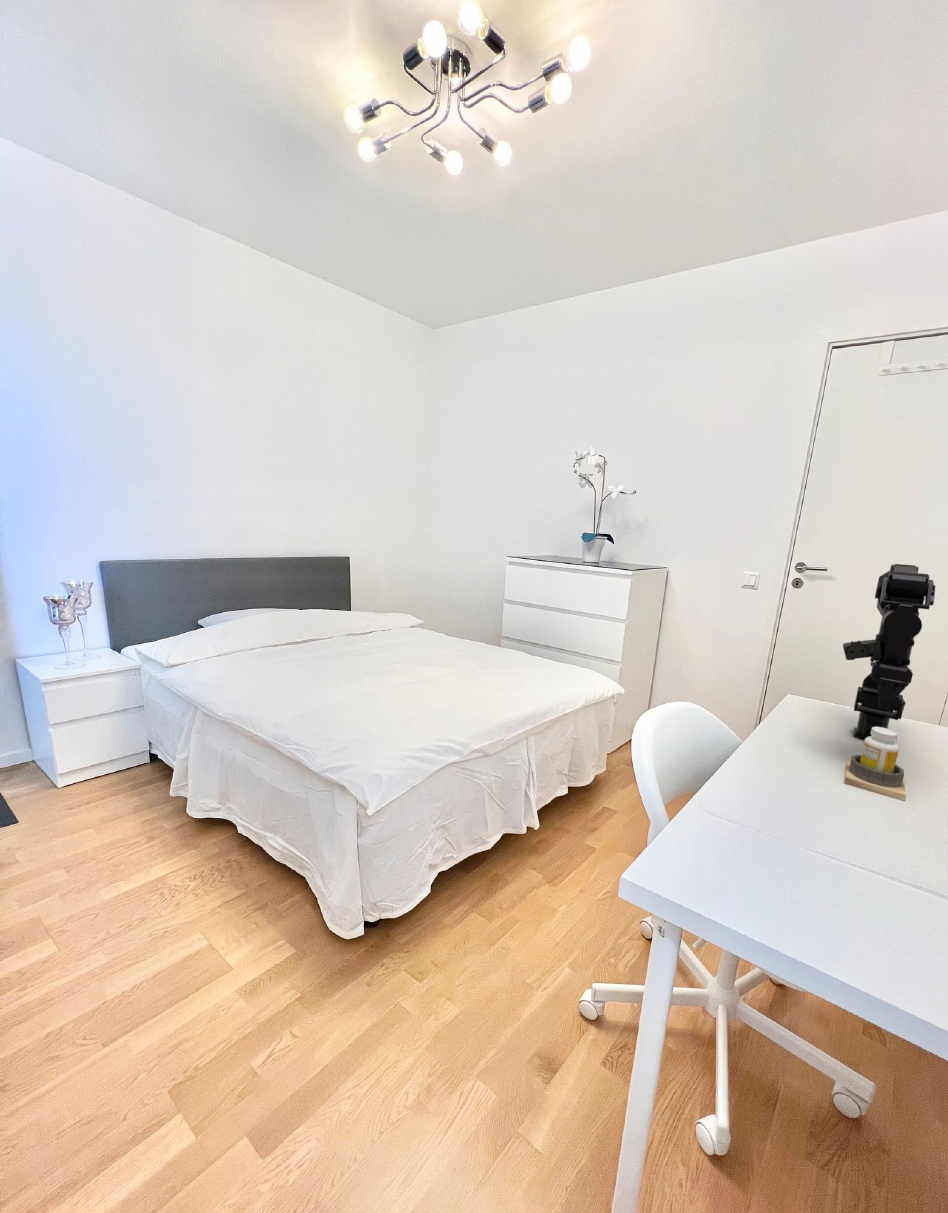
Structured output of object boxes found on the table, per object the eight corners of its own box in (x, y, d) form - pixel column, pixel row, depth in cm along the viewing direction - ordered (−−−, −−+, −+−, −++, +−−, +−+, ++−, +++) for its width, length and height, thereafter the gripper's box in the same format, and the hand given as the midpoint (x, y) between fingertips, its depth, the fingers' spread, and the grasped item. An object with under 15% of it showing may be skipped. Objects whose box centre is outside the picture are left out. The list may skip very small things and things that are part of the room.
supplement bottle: (860, 777, 101) (869, 731, 99) (855, 766, 105) (864, 722, 103) (894, 785, 98) (905, 739, 96) (888, 774, 103) (898, 729, 101)
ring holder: (846, 765, 108) (849, 748, 108) (901, 780, 103) (905, 763, 102) (844, 783, 100) (847, 765, 100) (904, 800, 95) (908, 782, 94)
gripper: (850, 620, 118) (837, 684, 121) (848, 631, 104) (834, 704, 106) (912, 628, 112) (898, 696, 115) (920, 642, 97) (903, 719, 100)
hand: (881, 703), depth 109 cm, fingers open, 9 cm apart
